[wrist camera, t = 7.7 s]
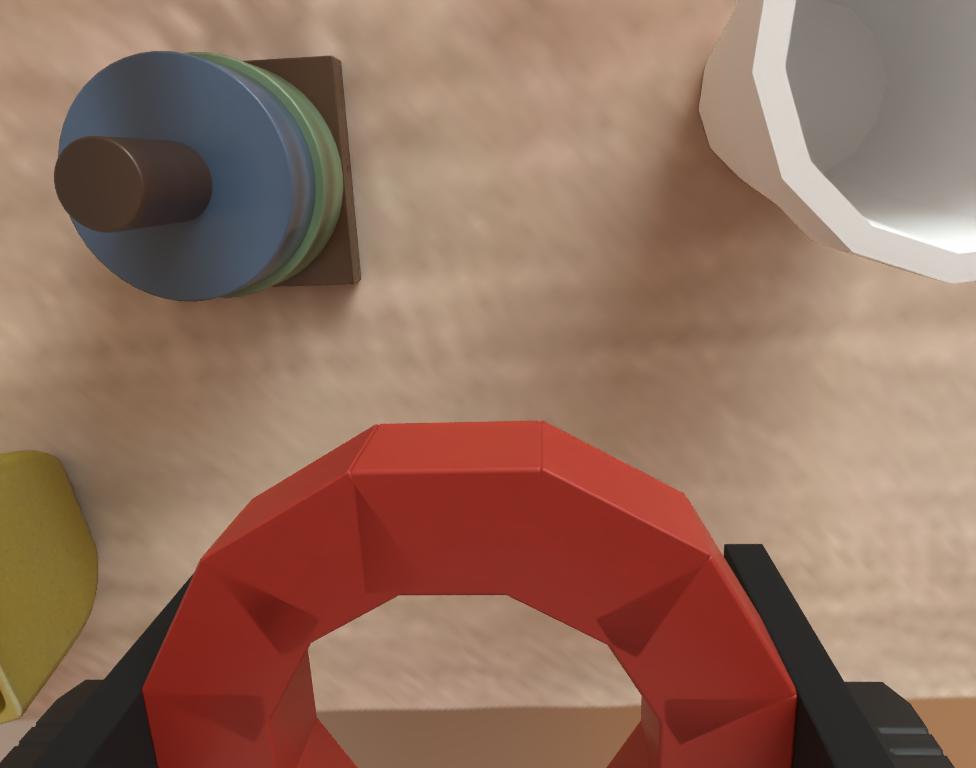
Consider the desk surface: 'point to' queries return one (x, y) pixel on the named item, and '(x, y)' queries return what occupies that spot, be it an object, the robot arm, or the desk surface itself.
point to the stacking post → (212, 174)
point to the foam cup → (855, 123)
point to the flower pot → (39, 575)
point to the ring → (467, 571)
